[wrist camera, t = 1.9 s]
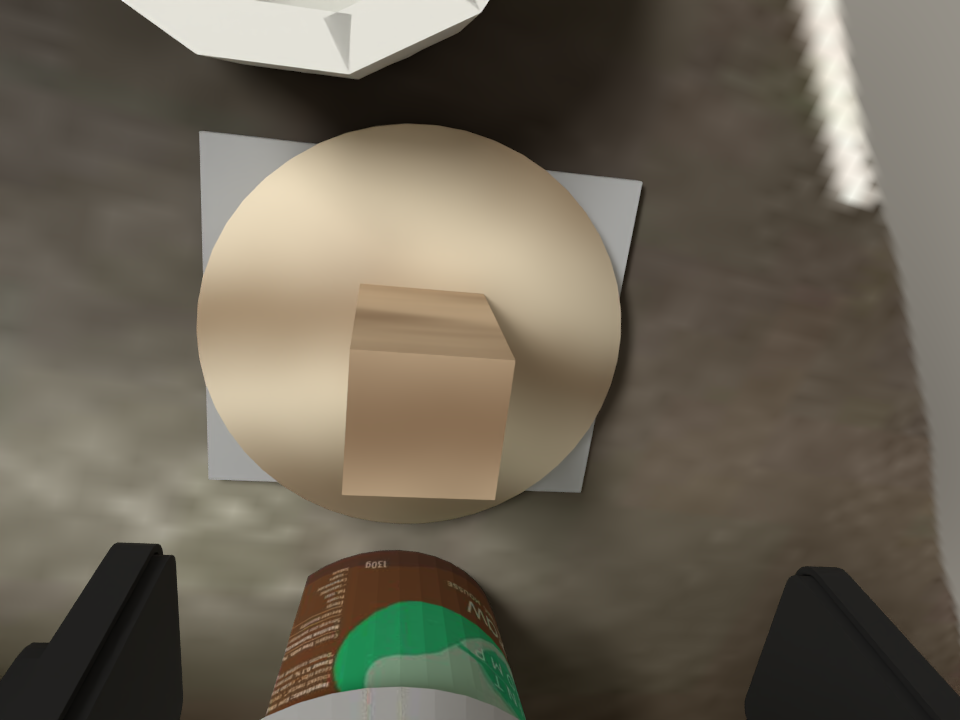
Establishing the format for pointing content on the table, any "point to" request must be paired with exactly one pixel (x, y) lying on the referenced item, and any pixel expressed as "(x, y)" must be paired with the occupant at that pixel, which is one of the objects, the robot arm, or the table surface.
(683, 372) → the table surface
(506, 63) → the table surface
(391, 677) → the food container
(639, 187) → the mat
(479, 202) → the lid
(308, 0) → the bowl
